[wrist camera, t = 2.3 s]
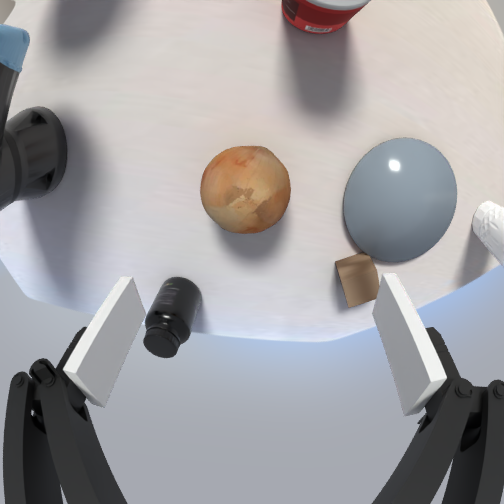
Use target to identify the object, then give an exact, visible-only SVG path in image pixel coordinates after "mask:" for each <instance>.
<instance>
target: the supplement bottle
mask: <svg viewBox="0 0 504 504" xmlns="http://www.w3.org/2000/svg"><path fill="white" fill-rule="evenodd" d="M200 301H201V294H200V291H199V289H198V287H197V286H196V285H195V284H194V283H193V282H191V281H190V280H188V279H186V278H182V277H173V278H169V279H168V280H166V281H165V282H164V283H163V285H162V286H161V288H160V290H159V292H158V294H157V296H156V298H155V300H154V302H153V304H152V306H151V308H150V310H149V312H148V314H147V316H146V319H145V326H146V329H147V331H146V335H145V338H144V342H143V343H144V346H145V347H146V348H147V350H149V352H151V353H152V354H154V355H156V356H158V357H162V358H170V357H173V356H174V355H176V353H177V351H178V348H179V346H180V344H183V343H184V342H186V341H187V340H188V338H189V336H190V334H191V331H192V327H193V324H194V321H195V318H196V315H197V311H198V308H199V305H200Z"/></svg>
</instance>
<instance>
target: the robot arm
mask: <svg viewBox="0 0 504 504" xmlns="http://www.w3.org/2000/svg"><path fill="white" fill-rule="evenodd" d="M29 42H30V37H29V34H28V32H27V31H26V30H24V29H21V28H17V27H13V26H8V25H4V24H0V211H1V210H2V209H4V208H5V207H6V206H8V205H9V204H11V203H13V202H14V201H20V200H27V199H34V198H39V197H42V196H44V195H45V194H47V193H49V192H50V191H52V190H53V189H54V188H56V186H57V185H58V184H59V182H60V181H61V179H62V176H63V174H64V171H65V166H66V160H67V145H66V138H65V134H64V130H63V128H62V125H61V123H60V121H59V120H58V118H57V117H56V115H55V114H54V113H53V112H52V111H51V110H49V109H47V108H45V107H33V108H28V109H25V110H23V111H21V112H19V113H18V114H17V115H15V116H14V117H12V118H11V119H10V120H8V121H7V122H6V120H7V116H8V111H9V107H10V103H11V99H12V96H13V92H14V89H15V86H16V82H17V79H18V76H19V73H20V72H21V71H22V64H23V61H24V58H25V55H26V52H27V49H28V46H29ZM372 314H373V317H374V320H375V323H376V325H377V328H378V331H379V334H380V337H381V340H382V343H383V346H384V348H385V351H386V355H387V358H388V361H389V364H390V367H391V371H392V374H393V377H394V381H395V384H396V387H397V391H398V395H399V398H400V401H401V406H402V410H403V413H404V416H408V415H413V414H417V413H419V412H420V411H421V410H422V409H423V408H424V407H425V409H426V412H427V413H426V414H425V415H424V416H423V417H422V418H421V419H420V420H419V422H418V424H420V423H421V424H420V426H419V428H418V430H417V432H416V434H415V436H414V438H413V439H412V442H411V443H410V445H409V447H408V449H407V451H406V452H405V454H404V456H403V457H402V459H401V461H400V463H399V464H398V466H397V468H396V469H395V471H394V472H393V474H392V475H391V477H390V479H389V480H388V482H387V483H386V485H385V486H384V487H383V489H382V490H381V492H380V493H379V495H378V496H377V497H376V499H375V500H374V501H373V503H372V504H430V503H431V501H432V500H433V498H434V496H435V494H436V492H437V491H438V489H439V487H440V485H441V483H442V481H443V479H444V477H445V475H446V473H447V471H448V468H449V466H450V464H451V462H452V459H453V463H452V467H451V472H450V476H449V479H448V484H447V487H446V491H445V494H444V498H443V501H442V504H500V501H501V496H502V492H503V486H504V382H503V381H501V380H494V381H492V382H491V383H490V384H489V385H488V387H476V386H473V385H472V384H471V383H470V382H469V381H468V380H466V379H463V378H461V377H460V375H459V373H458V370H457V368H456V366H455V364H454V362H453V359H452V357H451V355H450V353H449V352H448V349H447V346H446V345H445V342H444V340H443V338H442V337H441V334H440V333H439V332H438V331H437V330H436V329H435V328H434V327H430V328H425V327H424V325H423V323H422V321H421V319H420V317H419V315H418V313H417V311H416V309H415V307H414V306H413V304H412V302H411V300H410V298H409V296H408V294H407V293H406V291H405V289H404V287H403V285H402V284H401V282H400V280H399V278H398V277H397V275H396V273H388V274H382V278H381V282H380V286H379V290H378V294H377V298H376V302H375V305H374V309H373V313H372ZM145 316H146V312H145V310H144V307H143V305H142V302H141V299H140V296H139V294H138V291H137V288H136V285H135V282H134V280H133V277H120V279H119V280H118V282H117V283H116V285H115V286H114V288H113V289H112V290H111V292H110V293H109V295H108V296H107V298H106V299H105V301H104V302H103V304H102V305H101V307H100V308H99V310H98V312H97V313H96V315H95V316H94V318H93V319H92V321H91V322H90V324H89V326H88V327H83V328H82V329H81V330H80V331H79V332H77V334H76V335H75V337H74V339H73V340H72V342H71V343H70V345H69V348H67V350H66V352H65V353H64V355H63V357H62V359H61V360H60V362H59V364H58V366H57V367H56V369H55V368H54V366H53V365H52V364H51V362H50V361H48V360H47V359H44V358H42V359H39V360H37V361H35V362H34V363H33V365H32V366H31V368H30V371H29V374H30V376H31V377H32V378H30V377H29V376H28V374H27V373H25V372H19V373H17V374H16V375H14V377H13V378H12V381H11V384H10V390H9V396H8V402H7V410H6V418H5V429H4V443H3V478H4V479H3V480H4V494H5V504H63V500H62V494H61V487H62V490H63V492H64V495H65V498H66V500H67V503H68V504H127V502H126V500H125V498H124V496H123V494H122V492H121V490H120V488H119V486H118V485H117V482H116V481H115V478H114V476H113V474H112V472H111V470H110V467H109V465H108V463H107V460H106V458H105V456H104V453H103V451H102V448H101V446H100V443H99V441H98V438H97V435H96V433H95V430H94V427H93V424H92V421H91V418H90V415H89V412H88V408H87V406H86V404H85V403H84V402H85V400H86V398H87V399H88V400H89V401H90V402H91V403H92V404H94V405H97V406H101V407H104V408H105V406H106V403H107V401H108V398H109V396H110V393H111V391H112V388H113V386H114V383H115V381H116V379H117V377H118V374H119V372H120V370H121V367H122V365H123V363H124V361H125V358H126V356H127V354H128V352H129V350H130V347H131V345H132V343H133V341H134V339H135V337H136V335H137V332H138V330H139V328H140V326H141V324H142V322H143V320H144V318H145ZM31 410H33V411H34V414H33V416H32V415H31ZM60 484H61V487H60Z"/></svg>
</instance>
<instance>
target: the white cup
mask: <svg viewBox="0 0 504 504" xmlns="http://www.w3.org/2000/svg"><path fill="white" fill-rule="evenodd" d="M472 226H473V232H474V233H475V234H476V236H477V237H478V238H479V239H480V240H481V241H482V243H483V244H484V245H485V246H486V248H487V249H488V250H489V251H490V252H491V253H492V255H493V256H494V257H495V258H496V259H497V260H498V261H499V263H500V264H501V265H502V266H503V267H504V208H503V207H501V206H499V205H497V204H496V203H494V202H492V201H486V202H483V203H482V204H481V205H480V206H479V207H478V208H477V210H476V212H475V214H474V217H473V222H472Z"/></svg>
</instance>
